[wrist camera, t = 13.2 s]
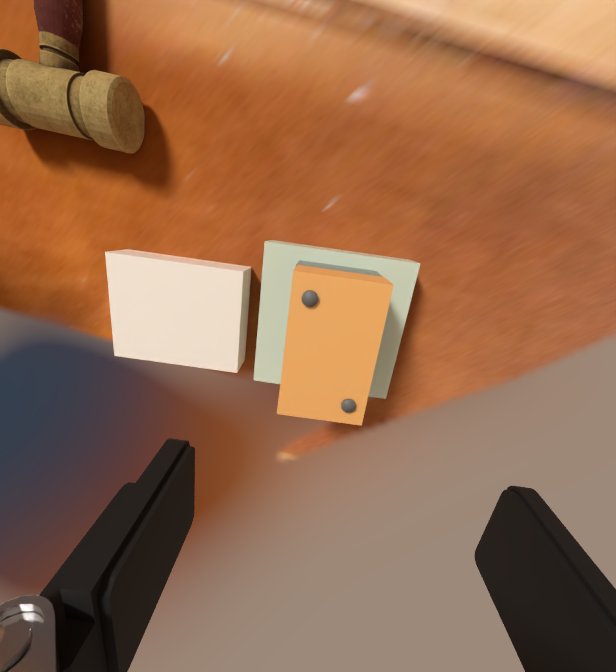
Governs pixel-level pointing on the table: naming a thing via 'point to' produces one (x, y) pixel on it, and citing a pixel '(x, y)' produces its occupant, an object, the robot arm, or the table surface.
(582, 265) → the table surface
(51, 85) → the gavel
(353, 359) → the housing cover
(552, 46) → the table surface
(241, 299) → the stand
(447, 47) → the table surface
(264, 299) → the stand
